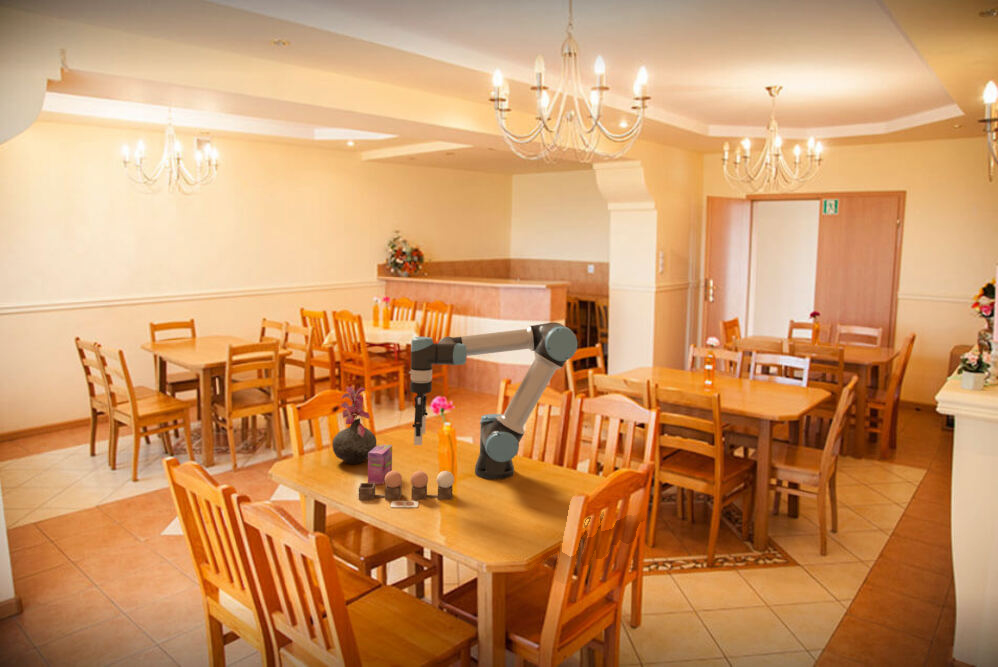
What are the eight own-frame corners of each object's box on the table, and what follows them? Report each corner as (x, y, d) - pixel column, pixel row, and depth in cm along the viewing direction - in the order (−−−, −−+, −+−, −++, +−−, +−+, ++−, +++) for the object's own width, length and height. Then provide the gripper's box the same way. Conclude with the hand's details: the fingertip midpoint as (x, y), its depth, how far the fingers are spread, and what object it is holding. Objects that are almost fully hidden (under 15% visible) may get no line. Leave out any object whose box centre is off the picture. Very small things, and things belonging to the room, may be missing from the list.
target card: (418, 501, 224) (418, 500, 224) (417, 507, 219) (417, 506, 219) (391, 501, 223) (391, 500, 223) (390, 507, 219) (390, 506, 218)
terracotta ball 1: (402, 484, 231) (402, 468, 230) (401, 491, 225) (401, 474, 224) (385, 484, 230) (385, 468, 229) (383, 491, 224) (383, 474, 223)
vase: (356, 452, 274) (356, 381, 270) (386, 461, 264) (386, 388, 260) (324, 462, 261) (323, 388, 256) (354, 472, 251) (354, 395, 246)
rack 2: (452, 494, 232) (452, 483, 231) (452, 499, 227) (452, 488, 226) (412, 494, 231) (412, 483, 230) (411, 499, 226) (411, 488, 225)
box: (382, 484, 239) (382, 453, 237) (367, 483, 240) (367, 452, 238) (392, 475, 249) (392, 445, 247) (378, 473, 250) (378, 443, 248)
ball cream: (453, 484, 232) (454, 468, 231) (453, 491, 226) (454, 474, 225) (436, 484, 231) (437, 468, 230) (436, 491, 225) (436, 474, 225)
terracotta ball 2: (428, 484, 231) (428, 468, 230) (427, 491, 225) (427, 474, 224) (411, 484, 231) (411, 468, 230) (410, 491, 225) (410, 474, 224)
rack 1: (401, 493, 231) (401, 483, 230) (399, 499, 226) (399, 488, 225) (360, 493, 230) (360, 482, 229) (358, 499, 225) (358, 488, 224)
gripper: (413, 373, 244) (412, 428, 247) (406, 388, 219) (405, 449, 222) (434, 373, 244) (432, 429, 247) (429, 388, 219) (427, 450, 222)
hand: (419, 438), depth 234 cm, fingers open, 13 cm apart
